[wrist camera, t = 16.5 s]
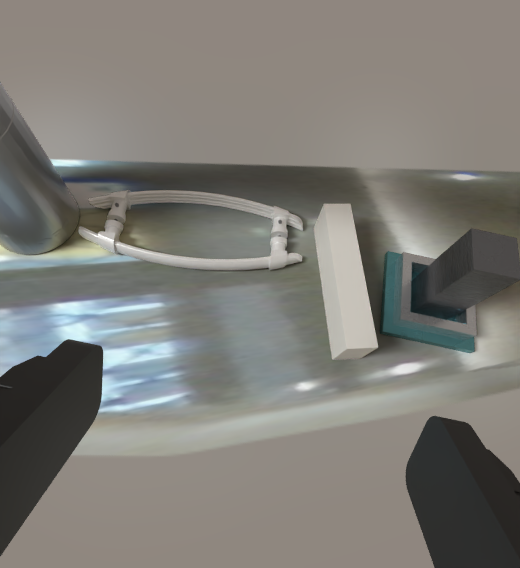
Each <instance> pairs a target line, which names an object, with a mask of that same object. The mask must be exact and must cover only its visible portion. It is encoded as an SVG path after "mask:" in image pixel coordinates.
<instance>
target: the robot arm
mask: <svg viewBox="0 0 520 568" xmlns="http://www.w3.org/2000/svg"><path fill="white" fill-rule="evenodd" d="M79 217H80V216H79V208H78V205H77V202H76V201H75V199H74V198H73V196H72V194H71V193H70V191H69V190H68V188H67V187H66V185H65V183H64V182H63V180H62V178H61V177H60V175H59V174H58V172H57V170H56V169H55V167H54V166H53V164H52V162H51V161H50V159H49V158H48V156H47V155H46V153H45V151H44V150H43V148H42V147H41V145H40V144H39V142H38V140H37V139H36V137H35V136H34V134H33V133H32V131H31V129H30V128H29V126H28V125H27V123H26V122H25V120H24V118H23V117H22V115H21V113H20V112H19V110H18V109H17V107H16V106H15V104H14V102H13V101H12V99H11V98H10V97H9V95H8V93H7V92H6V90H5V89H4V87H3V86H2V84H1V82H0V245H1V246H3V247H4V248H6V249H7V250H9V251H12V252H15V253H18V254H25V255H31V254H40V253H44V252H47V251H50V250H52V249H55V248H56V247H58V246H60V245H61V244H63V243H64V242H65V241H66V240H67V239H68V238H70V236H71V235H72V234H73V232H74V231H75V229H76V227H77V225H78V221H79ZM102 371H103V349H102V347H101V346H99V345H94V344H89V343H84V342H79V341H75V340H70V339H69V340H66V341H64V342H63V343H62V344H60V345H59V346H58V347H57V348H56V349H55V350H54V351H52V352H51V353H50V354H49V355H48V356H47V357H42V356H36V357H34V358H32V359H29V360H27V361H25V362H23V363H20V364H18V365H16V366H14V367H12V368H11V369H10V370H8V371H7V372H6V373H5V374H4V375H2V376H1V377H0V556H1V555H2V553H3V552H4V550H5V549H6V547H7V546H8V544H9V543H10V541H11V540H12V539H13V537H14V536H15V534H16V533H17V531H18V530H19V529H20V527H21V526H22V524H23V523H24V521H25V520H26V518H27V517H28V516H29V514H30V513H31V511H32V510H33V508H34V507H35V506H36V504H37V503H38V501H39V500H40V498H41V497H42V495H43V494H44V492H45V491H46V490H47V488H48V487H49V485H50V484H51V483H52V481H53V480H54V478H55V477H56V475H57V474H58V472H59V471H60V469H61V468H62V467H63V465H64V464H65V462H66V461H67V459H68V458H69V457H70V455H71V454H72V452H73V451H74V449H75V448H76V446H77V445H78V444H79V442H80V441H81V439H82V438H83V436H84V435H85V434H86V432H87V431H88V429H89V428H90V426H91V425H92V423H93V422H94V420H95V418H96V415H97V413H98V410H99V407H100V403H101V396H102ZM406 485H407V489H408V493H409V495H410V498H411V501H412V504H413V507H414V510H415V513H416V516H417V519H418V521H419V524H420V527H421V530H422V532H423V536H424V538H425V541H426V544H427V547H428V550H429V553H430V556H431V558H432V561H433V564H434V567H435V568H520V483H519V481H518V480H517V478H516V477H515V475H514V474H513V473H512V471H511V470H510V469H509V468H508V467H507V466H506V465H505V464H504V463H503V462H502V461H500V460H499V459H498V458H497V457H496V456H495V455H494V454H493V453H492V452H491V451H490V450H487V449H486V448H485V446H484V445H483V443H482V442H481V440H480V439H479V437H478V436H477V434H476V433H475V431H474V430H473V428H472V427H471V426H470V425H469V424H468V423H466V422H461V421H457V420H452V419H447V418H442V417H437V416H432V417H430V418H429V420H428V421H427V422H426V425H425V427H424V429H423V431H422V433H421V435H420V437H419V439H418V441H417V444H416V446H415V448H414V450H413V452H412V454H411V456H410V458H409V461H408V464H407V467H406Z"/></svg>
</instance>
